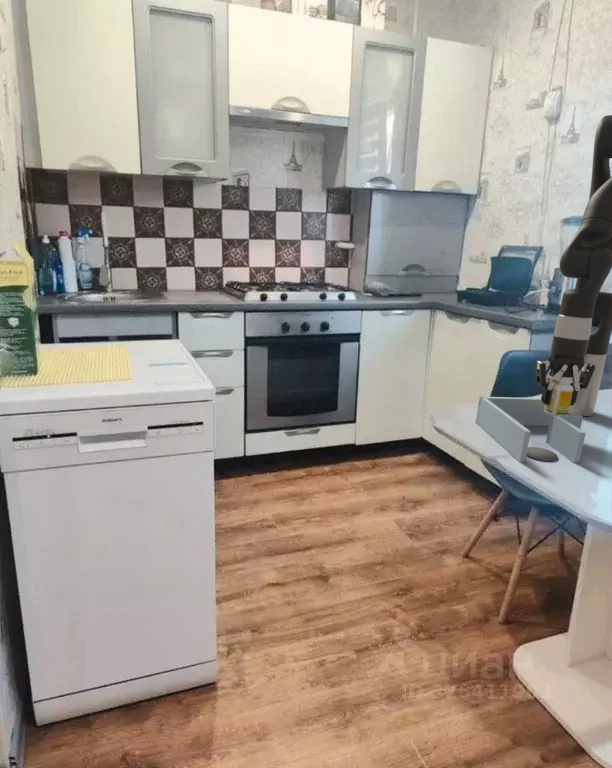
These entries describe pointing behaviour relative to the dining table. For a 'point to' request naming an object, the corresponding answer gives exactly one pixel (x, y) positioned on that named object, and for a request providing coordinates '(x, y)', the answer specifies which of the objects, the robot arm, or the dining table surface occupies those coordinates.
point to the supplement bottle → (560, 397)
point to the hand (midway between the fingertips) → (557, 404)
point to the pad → (541, 454)
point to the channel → (512, 413)
